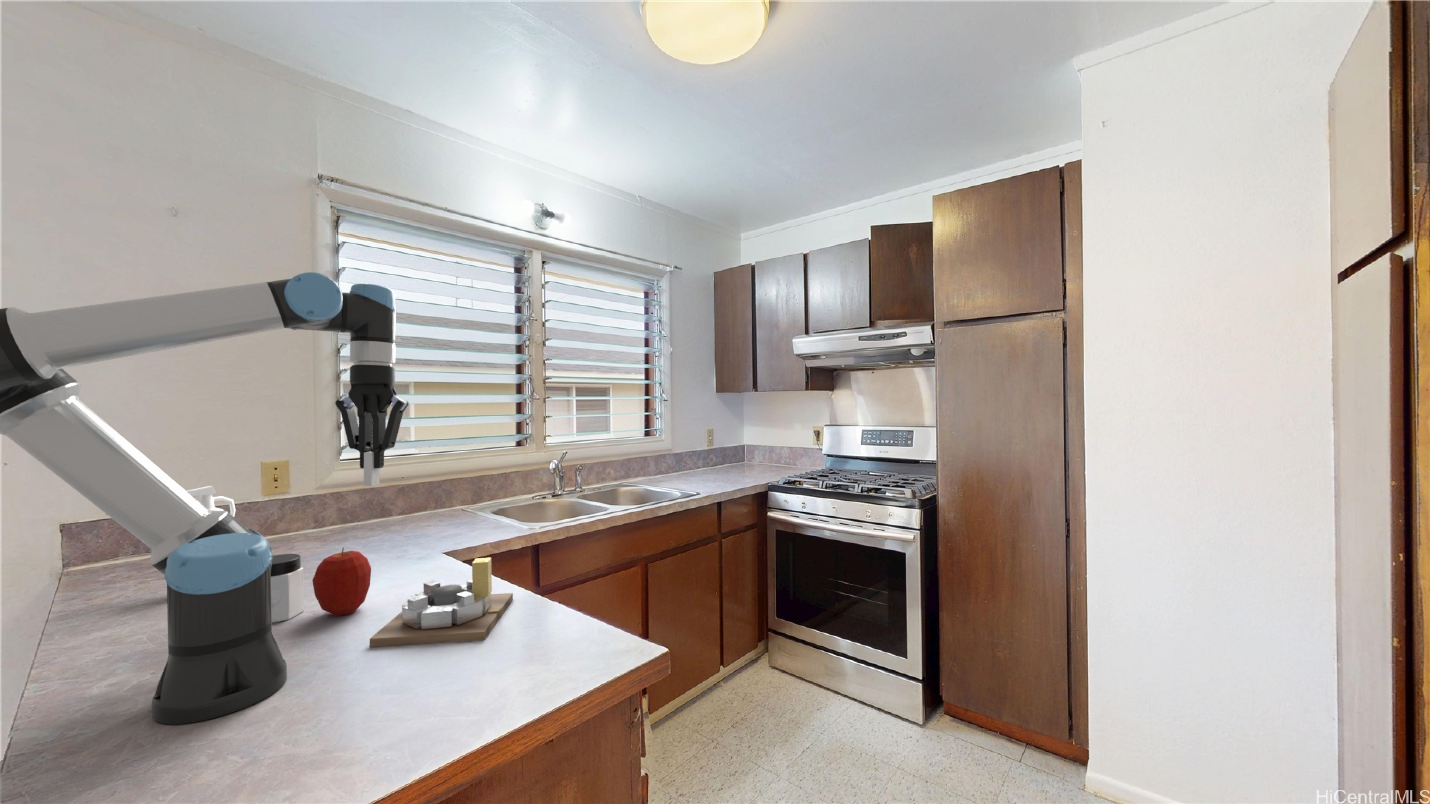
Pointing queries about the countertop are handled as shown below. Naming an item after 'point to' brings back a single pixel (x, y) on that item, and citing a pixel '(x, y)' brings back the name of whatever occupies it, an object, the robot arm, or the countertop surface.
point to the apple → (342, 582)
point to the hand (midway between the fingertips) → (371, 485)
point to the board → (466, 631)
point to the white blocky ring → (466, 608)
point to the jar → (286, 587)
